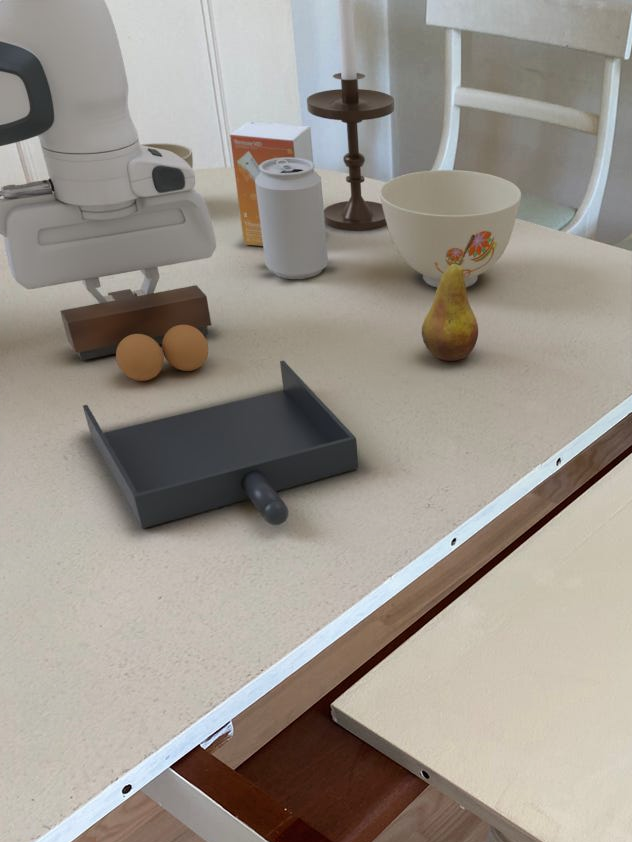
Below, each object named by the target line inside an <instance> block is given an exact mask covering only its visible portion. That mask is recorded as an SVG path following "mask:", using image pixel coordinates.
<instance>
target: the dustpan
mask: <svg viewBox="0 0 632 842" xmlns="http://www.w3.org/2000/svg"><path fill="white" fill-rule="evenodd" d="M279 365H280V372H281V373H280V374H281V381H282V382H281V383H282V390H278V391H273V392H269V393H265V394H261V395H256V396H252V397H248V398H244V399H240V400H235V401H231V402H226V403H222V404H219V405H214V406H210V407H205V408H201V409H197V410H193V411H189V412H184V413H181V414H180V413H179V414H177V415H172V416H168V417H164V418H158V419H155V420H151V421H147V422H142V423H138V424H134V425H129V426H126V427H121V428H118V429H113V430H108V431H105V432H104V431H103V430H102V428H101V426H100V425H99V423H98V421H97V420H96V418H95V416H94V414H93V412H92V411H91V408H90V407H89V406H88V404H83V405H82V409H83V412H84V416H85V420H86V423H87V427H88V430H89V434H90V437H91V440H92V441H93V443H94V445H95V447H96V449H97V451H98V452H99V454H100V456H101V458H102V459H103V462H104V463H105V465H106V466H107V468H108V470H109V472H110V474H111V476H112V477H113V479H114V482H115V483H116V485H117V486H118V488H119V490H120V493H121V494H122V495H123V498H124V499H125V501H126V503H127V504H128V507H129V508H130V510H131V512H132V513H133V515H134V517H135V519H136V521H137V523H138V524H139V526H140V528H141V529H146V528H150V527H153V526H156V525H157V526H158V525H160V524H164V523H167V522H171V521H175V520H178V519H182V518H186V517H189V516H192V515H196V514H199V513H203V512H207V511H210V510H211V511H212V510H214V509H217V508H221V507H224V506H229V505H231V504H235V503H239V502H242V501H246V500H250V501H251V502H252V504H253V505H254V506H255V508H256V510H257V511H258V512H259V513H260V515H261V516H262V518H263V519H264V520H265V521H266V523H268V524H269V525H272V526H280V525H282V524H285V522H286V521H287V520H288V517H289V508H288V506H287V504H286V503H285V502H284V500H283V499H282V498H281V497H280V495H279V494H278V492H279V491H282V490H285V489H290V488H292V487H297V486H300V485H303V484H306V483H312V482H314V481H318V480H321V479H325V478H329V477H332V476H337V475H340V474H342V473H346V472H350V471H354V470H357V469H359V457H358V456H359V455H358V445H357V437H356V436H355V435H354V434H353V433H352V431H350V430H349V429H348V428H347V426H346V425H345V424H344V423H343V422H342V421H341V420H340V419H339V418H338V417H337V415H336V414H334V412H333V411H331V409H330V408H329V407H328V406H327V405H326V404H325V403H324V401H322V400H321V399H320V398H319V397H318V396H317V394H316V393H315V392H314V391H313V390H312V389H311V387H309V386H308V384H306V382H304V380H303V379H302V378H301V377H300V376H299V375H298V374H297V373H296V372H295V371H294V370H293V369H292V368H291V366H290V365H289V364H288V363H287V362H286V361H285V360H280V361H279Z"/></svg>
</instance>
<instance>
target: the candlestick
mask: <svg viewBox="0 0 632 842" xmlns="http://www.w3.org/2000/svg"><path fill="white" fill-rule="evenodd" d="M336 13H337V24H338V25H337V27H338V44H339V57H340V72H339V73H334V74H333V75H332V77H333V79H336V80H340V87H341V88H338V89H330V90H329V89H328V90H322V91H319V92H315V93H313V94H311V95H309V96H308V97H306V106H307V107H306V108H307V111H308V113H309V114H311V115H312V116H315V117H317V118H318V117H319V118H321V119H327V120H335V121H340V122H342V123H344V124H346V134H347V135H346V136H347V150H348V151H347V153H346V154H344V155H343V159H342V161H343V163H344V165H345V167H347V168H348V175H347V176H346V177H345V181H346V182H347V183H348V184H350V185H349V186H350V197H349V199H348V200H345V201H340V202H336V203H332V204H330V205H328V206H327V207H324V220H325V225H328V226H329V227H332V228H335V229H338V230H343V231H355V232H357V231H359V232H360V231H369V230H376V229H379V228H382V227H385V226H387V223H386V219H385V215H384V211H383V207H382V203H381V202H377V201H371V200H365V199H364V198H363V196H362V183H364V182H365V176H364V175H362V170H361V168H362V167H363V166H364V164H365V161H366V157H365V155H363V154H362V153H361V152H360V149H359V148H360V147H359V131H358V124H359V123H361V122H363V121H366V120H367V121H368V120H375V119H380V118H383V117H386V116H389V115H391V114H392V113H394V111H395V99H394V96H392V95H390V94H389V93H385V92H383V91H382V92H381V91H378V90H373V89H364V88H363V89H362V88H359V80H362V79H365V78H366V75H365V74H363V73H360V72H357V58H356V57H357V56H356V39H355V22H354V20H355V19H354V4H353V0H336Z"/></svg>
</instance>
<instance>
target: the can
mask: <svg viewBox="0 0 632 842" xmlns="http://www.w3.org/2000/svg"><path fill="white" fill-rule="evenodd" d="M315 168H316V167H315V163H314V162H313V163H312V162H311V161H309V160H306V159H302V158H292V157H286V158H275V159H270V160H267V161H264V162H262V163H261V164H260V165H259V170H261V172H260V173H259V174H258V176H257V177H256V179H255V185H256V193H257V201H258V209H259V217H260V225H261V232H262V240H263V246H262V247H263V255H264V263H265V267H266V268H267V269H268V270H269V271H271V272H272V273H273V274H274V275H275V276H277V277H279V278H282V279H287V280H304V279H310V278H313V277H316V276H318V275H320V274H321V273H322V271H323V270H324V269H325V268H326V267H327V266H328V264H329V258H328V256H329V255H328V246H327V233H326V223H325V220H324V210H325V207H324V196H323V186H322V177H321V176H320V174H318V173H317V171H316V170H315ZM313 169H314V170H313Z"/></svg>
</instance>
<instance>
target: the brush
mask: <svg viewBox="0 0 632 842" xmlns="http://www.w3.org/2000/svg"><path fill="white" fill-rule="evenodd" d="M109 295H112V297H113V299H115V300H114V301H109V302H104V303H99V302H98V303H94V304H93V303H92V304H88V305H83V306H77V307H72V308H67V309H62V310H60V311H59V312H60V316H61V321H62V323H63V327H64V331H65V334H66V338H67V341H68V343H69V345H70V346H71V347H72V349H73V351H74V353H76V354H77V355H78V357H79V359H80V360H81V361H86V360H91V359H96V358H101V357H105V356H109V355H116V350H117V347H118V345H119V343H120V342H121V341H122V340H123V339H124V338H125V337H127V336H129V335H132V334H143V335H147V336H149V337H151V338H152V339H154V340H155V341H156V342H157V343H158V344H159V345H162V341H163V338H164V336H165V334H166V333H167V331H169V330H170V329H171V328H172V327H174V326H177V325H189V326H192V327H194V328H196V329H198V330H199V331H200V332H201V333H202V334H203V335H204V336H206V335H209V329H208V327H210V326H212V320H211V315H210V309H209V303H208V296H207V295H206V293H204V292H203V290H202V289H201V288H200V287H199V286H198V285H197V284H195V285H190V286H184V287H179V288H175V289H168V290H163V291H157V292H154V293H152V294H147V295H141V296H135V295H134V291H133V290H132V289H130V288H127V289H122V290H117V291H116V290H115V291H111V292H107V296H109Z"/></svg>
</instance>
